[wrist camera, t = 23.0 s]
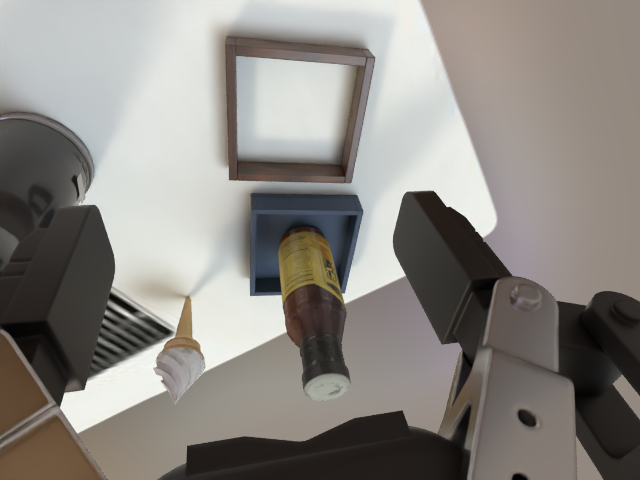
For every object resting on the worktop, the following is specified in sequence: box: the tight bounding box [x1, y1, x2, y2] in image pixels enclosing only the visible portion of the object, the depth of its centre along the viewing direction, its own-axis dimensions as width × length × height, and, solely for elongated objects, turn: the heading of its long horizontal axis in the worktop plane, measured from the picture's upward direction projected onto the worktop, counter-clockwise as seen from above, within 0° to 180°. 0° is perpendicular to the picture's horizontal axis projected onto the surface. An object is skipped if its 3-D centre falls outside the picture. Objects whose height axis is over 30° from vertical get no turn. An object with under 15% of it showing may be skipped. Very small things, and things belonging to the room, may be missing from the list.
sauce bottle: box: [278, 226, 351, 401], centre depth 41 cm, size 6×6×20 cm
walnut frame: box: [225, 37, 375, 183], centre depth 38 cm, size 13×13×2 cm
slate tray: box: [250, 194, 363, 296], centre depth 48 cm, size 12×13×3 cm
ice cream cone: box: [153, 297, 206, 405], centre depth 47 cm, size 6×6×15 cm
